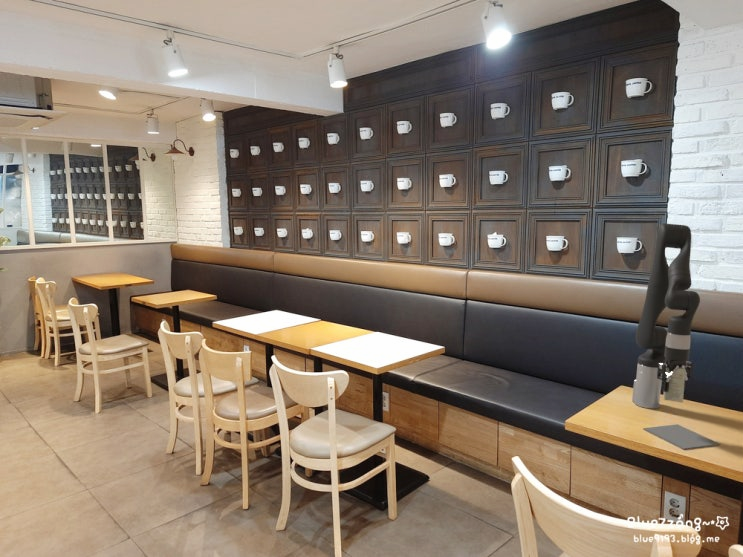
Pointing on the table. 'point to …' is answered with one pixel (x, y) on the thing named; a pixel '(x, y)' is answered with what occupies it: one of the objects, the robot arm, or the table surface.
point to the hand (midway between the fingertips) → (673, 390)
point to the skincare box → (675, 386)
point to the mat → (681, 437)
